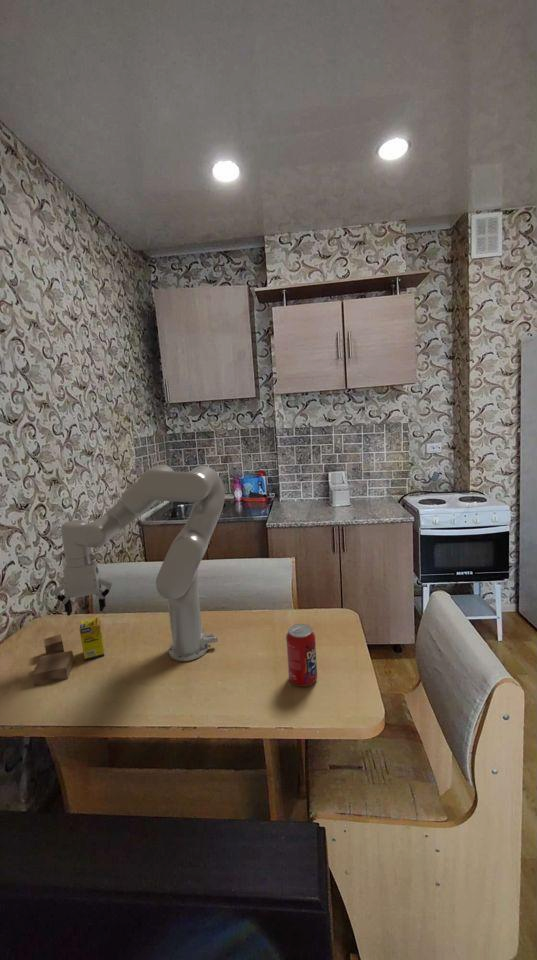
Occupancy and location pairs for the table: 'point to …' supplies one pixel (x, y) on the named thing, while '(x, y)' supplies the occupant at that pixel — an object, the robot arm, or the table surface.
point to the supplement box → (92, 638)
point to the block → (53, 645)
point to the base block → (53, 668)
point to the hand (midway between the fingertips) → (86, 611)
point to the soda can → (301, 655)
